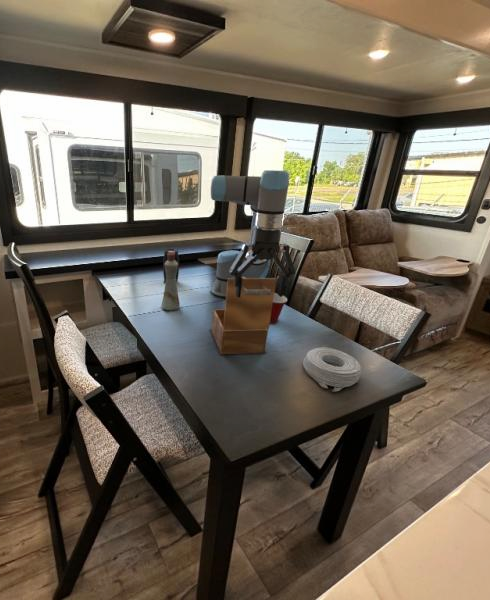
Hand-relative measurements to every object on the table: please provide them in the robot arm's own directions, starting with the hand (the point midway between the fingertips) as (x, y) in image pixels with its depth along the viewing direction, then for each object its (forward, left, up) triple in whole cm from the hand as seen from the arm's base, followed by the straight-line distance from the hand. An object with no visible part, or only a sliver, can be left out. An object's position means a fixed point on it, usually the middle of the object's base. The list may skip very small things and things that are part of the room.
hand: (258, 295), depth 98 cm
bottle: (-50, -24, -27) cm, 61 cm away
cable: (+6, +26, -27) cm, 38 cm away
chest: (-17, 0, -27) cm, 31 cm away
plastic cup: (-34, +21, -27) cm, 48 cm away
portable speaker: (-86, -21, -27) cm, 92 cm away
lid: (-8, 0, -7) cm, 10 cm away
